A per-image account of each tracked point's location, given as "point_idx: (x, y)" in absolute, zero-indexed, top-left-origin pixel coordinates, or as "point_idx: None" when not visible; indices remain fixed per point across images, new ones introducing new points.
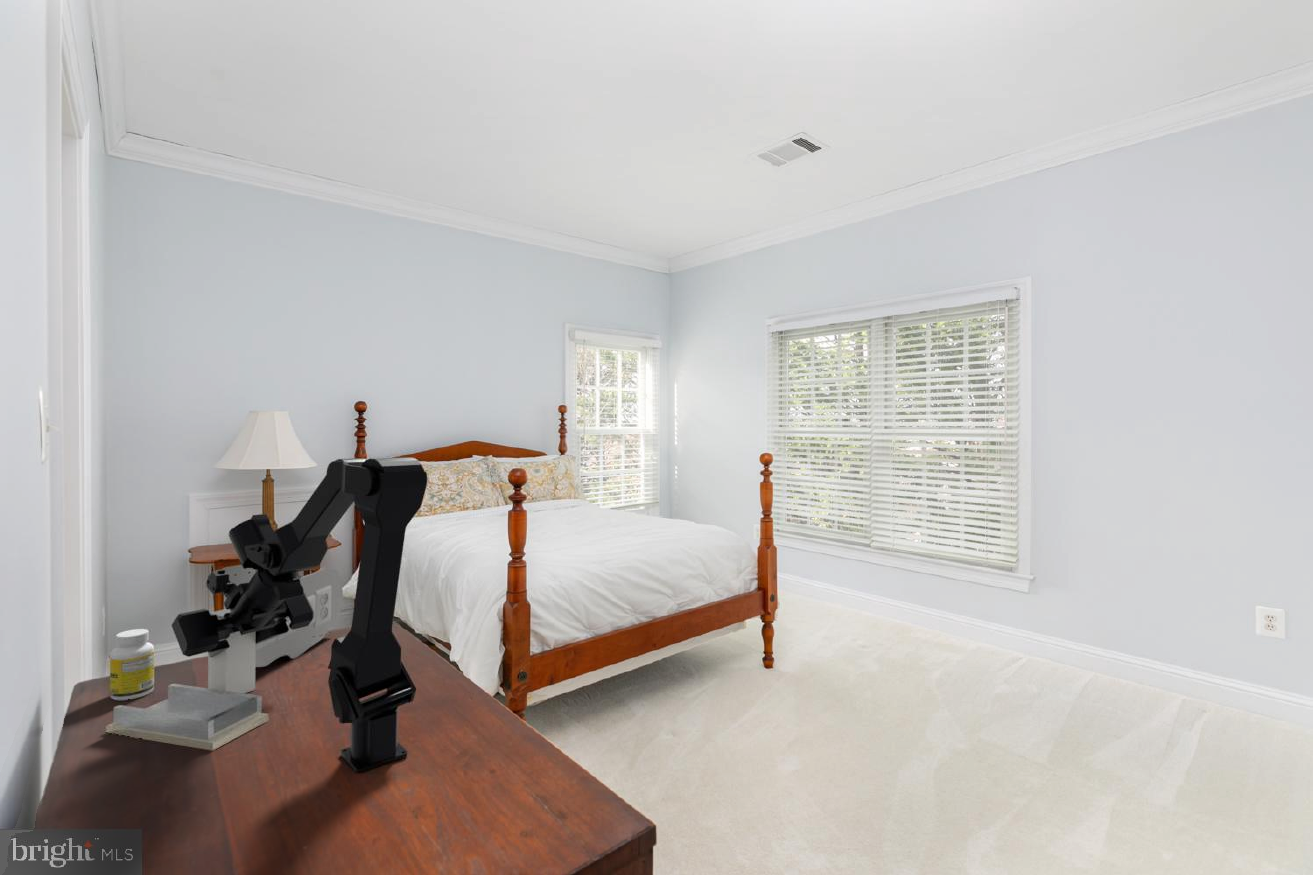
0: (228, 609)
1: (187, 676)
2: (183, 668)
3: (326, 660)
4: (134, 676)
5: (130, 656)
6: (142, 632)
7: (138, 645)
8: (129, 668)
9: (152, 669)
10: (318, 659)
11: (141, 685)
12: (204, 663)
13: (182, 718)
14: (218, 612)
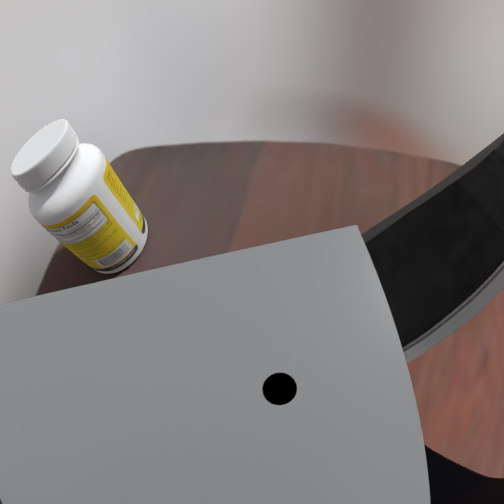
0: (144, 339)
1: (224, 212)
2: (238, 164)
3: (496, 332)
4: (75, 250)
5: (38, 220)
6: (41, 153)
7: (44, 190)
8: (56, 237)
9: (110, 232)
10: (487, 312)
11: (99, 263)
12: (279, 162)
13: None
14: (15, 379)
